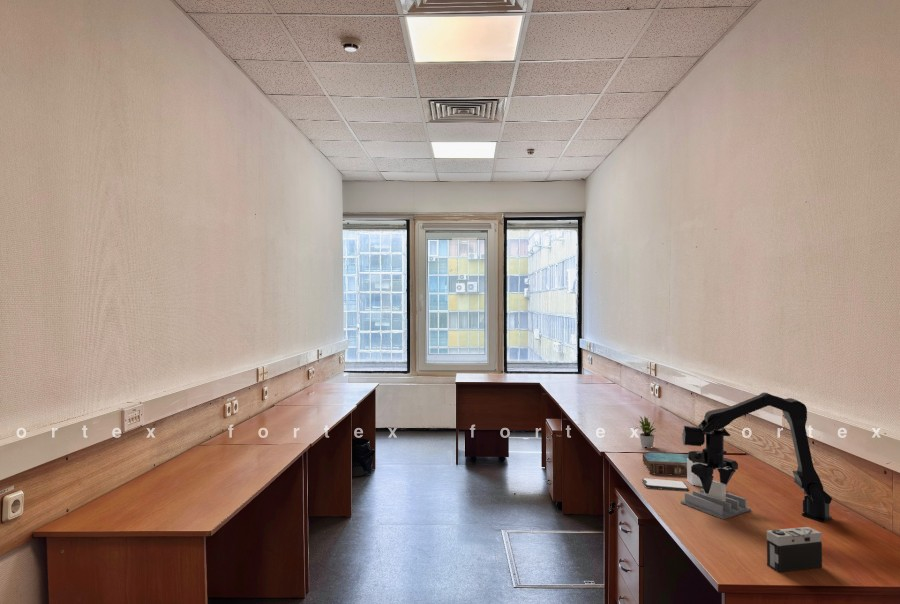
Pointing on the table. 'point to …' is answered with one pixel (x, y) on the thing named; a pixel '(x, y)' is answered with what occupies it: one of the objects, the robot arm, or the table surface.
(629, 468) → the table surface
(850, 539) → the table surface
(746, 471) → the table surface
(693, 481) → the jar
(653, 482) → the phone case
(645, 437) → the house plant
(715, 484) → the white slab
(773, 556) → the camera
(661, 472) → the brown teal box
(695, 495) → the dish rack
